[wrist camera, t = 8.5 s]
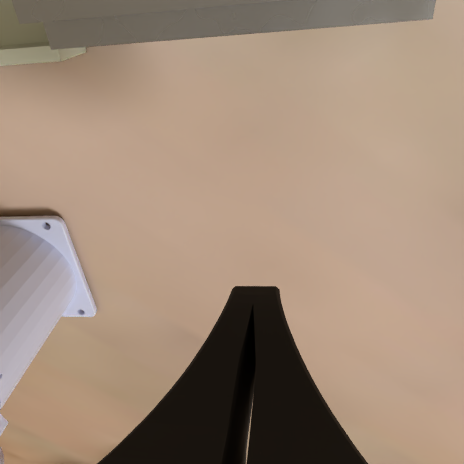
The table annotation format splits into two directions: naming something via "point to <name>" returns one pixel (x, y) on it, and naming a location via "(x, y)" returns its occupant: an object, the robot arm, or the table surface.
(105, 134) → the table surface
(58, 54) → the tray
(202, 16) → the rail
